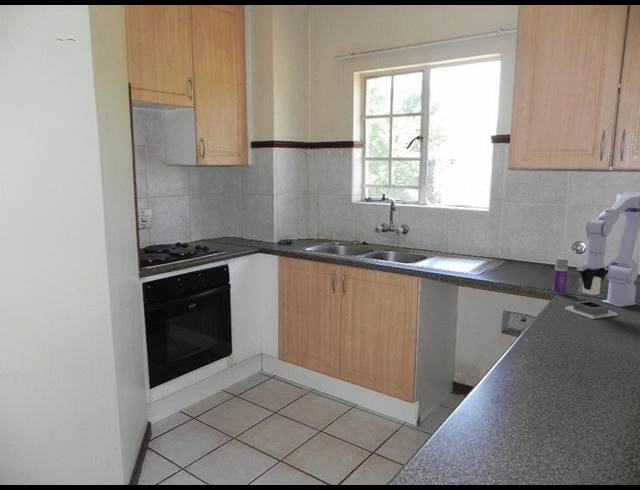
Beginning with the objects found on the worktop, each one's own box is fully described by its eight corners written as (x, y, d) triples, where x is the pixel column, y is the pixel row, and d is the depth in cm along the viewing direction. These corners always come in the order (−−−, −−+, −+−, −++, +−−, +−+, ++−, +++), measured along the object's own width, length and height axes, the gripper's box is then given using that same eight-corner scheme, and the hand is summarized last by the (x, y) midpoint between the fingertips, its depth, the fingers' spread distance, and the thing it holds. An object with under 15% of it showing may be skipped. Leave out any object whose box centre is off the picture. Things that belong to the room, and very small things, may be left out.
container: (558, 294, 199) (561, 259, 197) (550, 291, 204) (553, 257, 201) (567, 294, 200) (570, 259, 198) (559, 291, 205) (562, 257, 203)
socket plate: (587, 306, 182) (588, 298, 182) (616, 315, 171) (617, 307, 171) (564, 309, 178) (565, 301, 178) (593, 318, 167) (594, 310, 167)
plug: (589, 291, 177) (591, 272, 176) (599, 294, 173) (601, 274, 172) (581, 292, 176) (583, 273, 175) (591, 294, 172) (593, 275, 171)
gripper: (600, 249, 178) (596, 284, 180) (571, 251, 173) (567, 287, 175) (617, 252, 172) (613, 288, 174) (588, 254, 167) (584, 292, 169)
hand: (591, 288), depth 174 cm, fingers closed on plug, 4 cm apart
